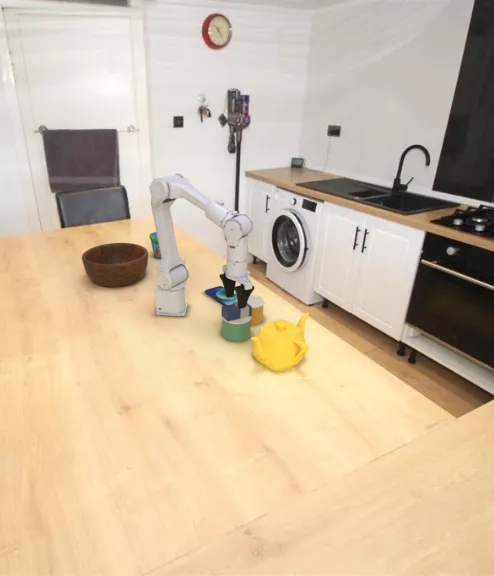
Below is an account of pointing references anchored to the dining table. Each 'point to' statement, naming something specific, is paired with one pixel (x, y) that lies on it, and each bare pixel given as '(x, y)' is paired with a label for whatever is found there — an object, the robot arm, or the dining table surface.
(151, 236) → the snack cup
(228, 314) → the block
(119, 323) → the dining table surface
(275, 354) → the teapot
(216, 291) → the smartphone
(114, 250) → the wooden bowl
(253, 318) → the ochre yogurt pot
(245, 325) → the yogurt pot
